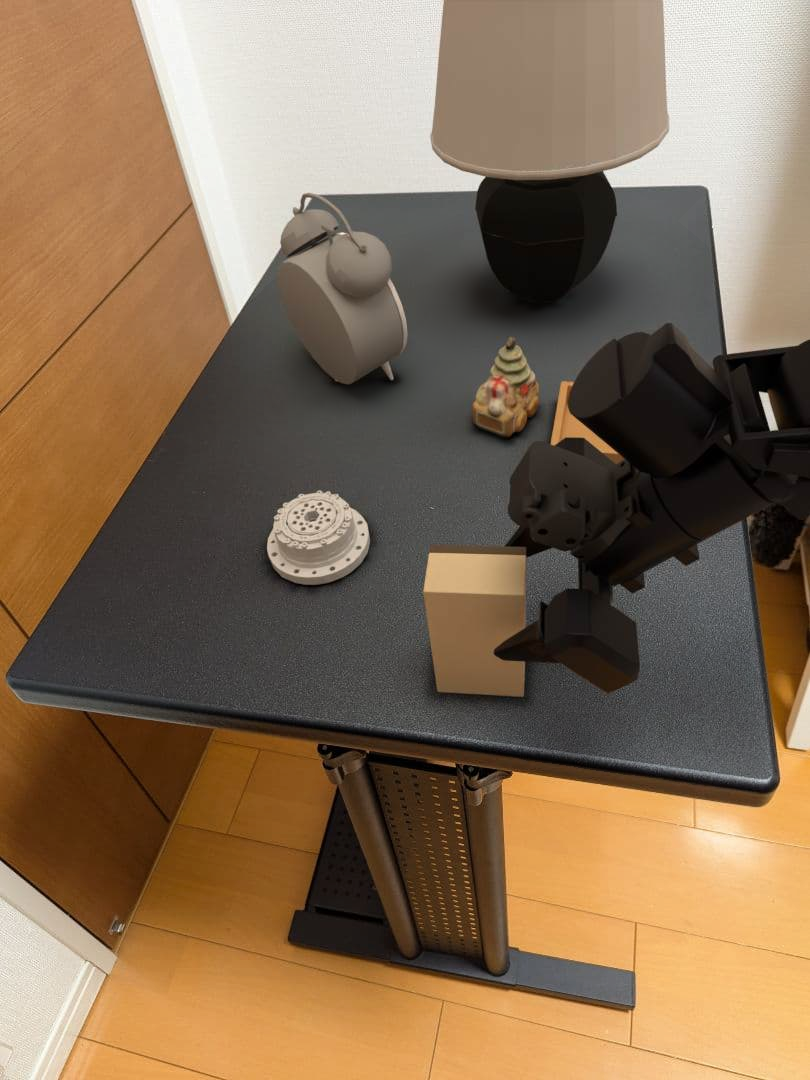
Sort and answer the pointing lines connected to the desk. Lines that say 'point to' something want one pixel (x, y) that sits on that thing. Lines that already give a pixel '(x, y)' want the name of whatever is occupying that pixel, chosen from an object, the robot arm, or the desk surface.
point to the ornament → (507, 394)
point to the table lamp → (548, 125)
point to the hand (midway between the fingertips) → (501, 603)
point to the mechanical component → (317, 539)
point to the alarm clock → (340, 294)
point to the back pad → (475, 616)
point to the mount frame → (576, 426)
